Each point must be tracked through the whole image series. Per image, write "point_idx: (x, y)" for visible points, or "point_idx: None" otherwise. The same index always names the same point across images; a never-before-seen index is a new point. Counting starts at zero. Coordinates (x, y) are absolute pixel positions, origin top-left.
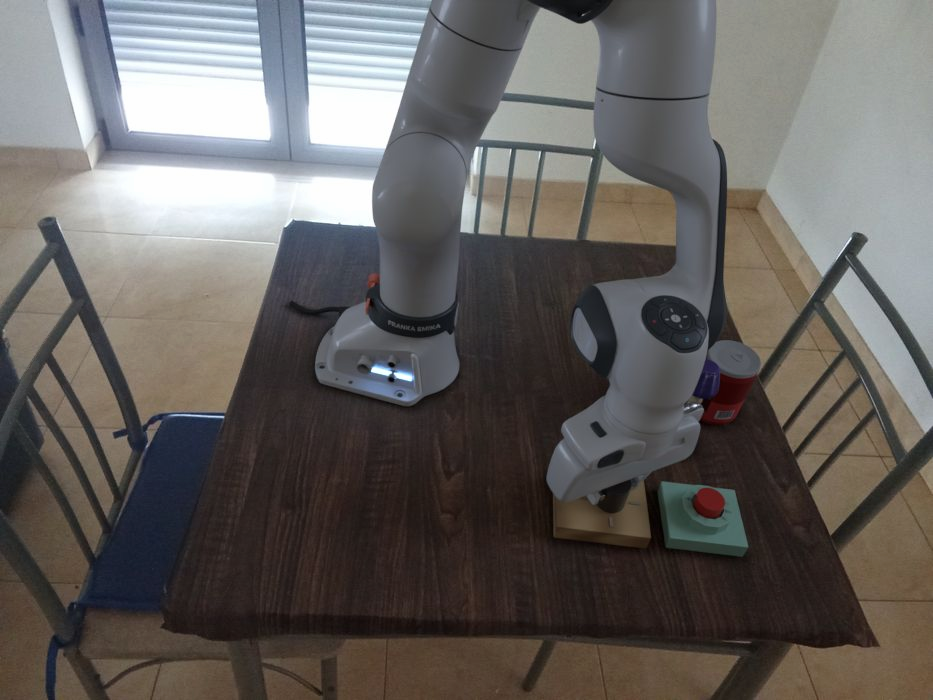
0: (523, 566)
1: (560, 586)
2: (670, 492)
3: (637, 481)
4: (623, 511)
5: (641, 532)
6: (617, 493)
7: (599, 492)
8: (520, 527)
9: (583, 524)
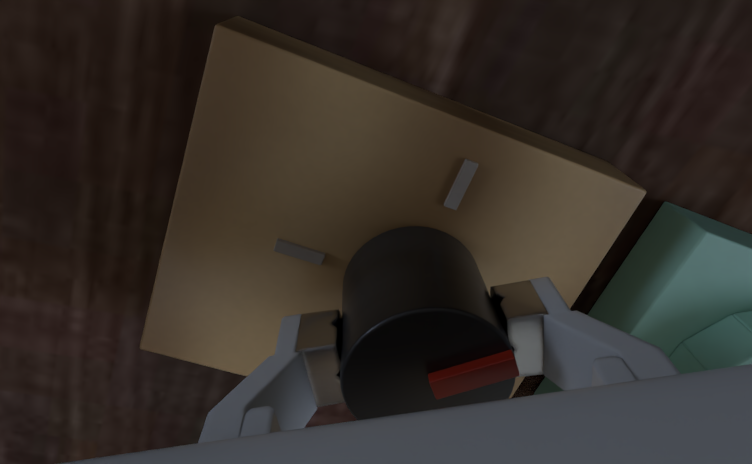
0: (38, 371)
1: (153, 437)
2: (696, 289)
3: (551, 377)
4: None
5: None
6: None
7: (320, 387)
8: (38, 241)
9: (254, 359)
